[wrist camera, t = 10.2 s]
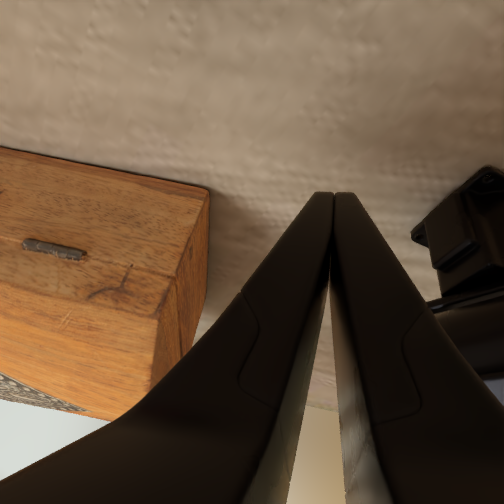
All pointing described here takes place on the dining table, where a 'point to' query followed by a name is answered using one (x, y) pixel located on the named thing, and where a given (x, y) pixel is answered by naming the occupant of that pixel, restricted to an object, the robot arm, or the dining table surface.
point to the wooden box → (95, 282)
